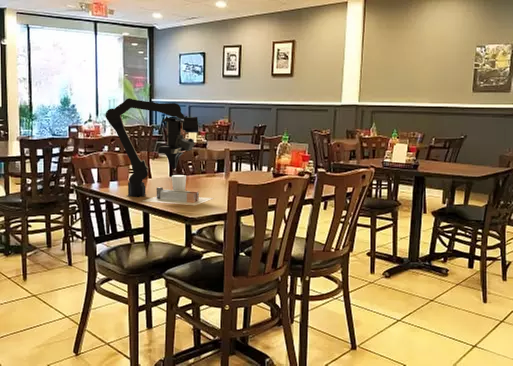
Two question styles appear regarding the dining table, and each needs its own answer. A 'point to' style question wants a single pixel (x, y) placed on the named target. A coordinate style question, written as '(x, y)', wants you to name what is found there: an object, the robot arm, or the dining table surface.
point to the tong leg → (176, 191)
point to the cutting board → (177, 201)
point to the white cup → (179, 182)
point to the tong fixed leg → (178, 196)
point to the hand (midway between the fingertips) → (174, 168)
